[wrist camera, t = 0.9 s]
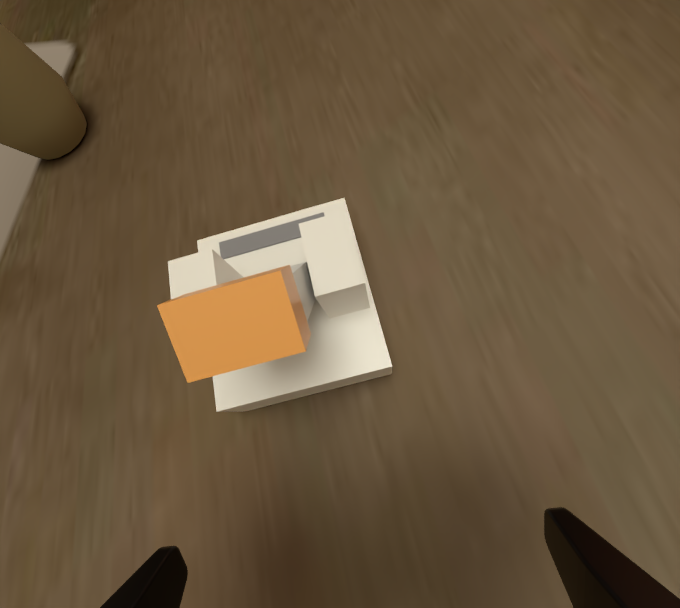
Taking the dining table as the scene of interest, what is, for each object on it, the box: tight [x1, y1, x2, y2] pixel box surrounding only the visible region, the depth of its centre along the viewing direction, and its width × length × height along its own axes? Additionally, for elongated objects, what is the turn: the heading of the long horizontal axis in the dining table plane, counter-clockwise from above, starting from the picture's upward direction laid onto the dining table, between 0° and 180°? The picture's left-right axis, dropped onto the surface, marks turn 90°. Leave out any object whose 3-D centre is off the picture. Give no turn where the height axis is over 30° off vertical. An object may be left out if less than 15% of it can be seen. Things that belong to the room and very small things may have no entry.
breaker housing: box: [168, 198, 392, 412], centre depth 21 cm, size 11×10×8 cm
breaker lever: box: [157, 262, 316, 383], centre depth 16 cm, size 3×4×9 cm
